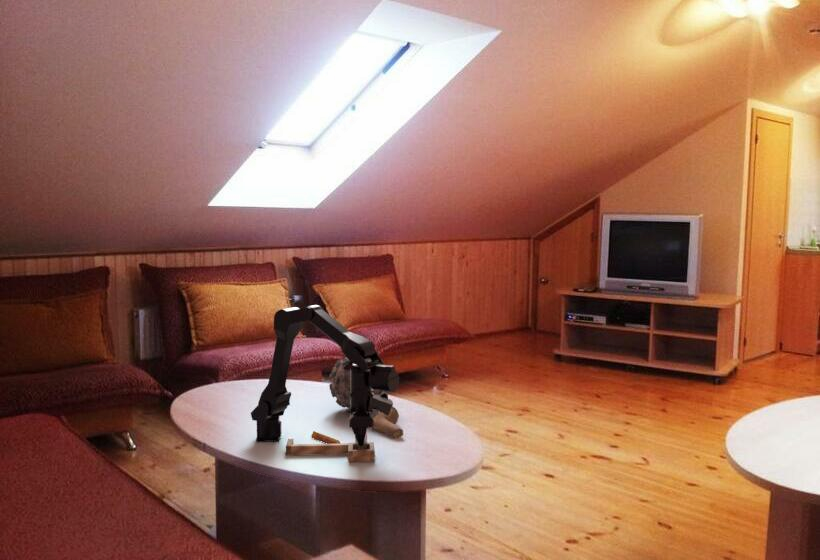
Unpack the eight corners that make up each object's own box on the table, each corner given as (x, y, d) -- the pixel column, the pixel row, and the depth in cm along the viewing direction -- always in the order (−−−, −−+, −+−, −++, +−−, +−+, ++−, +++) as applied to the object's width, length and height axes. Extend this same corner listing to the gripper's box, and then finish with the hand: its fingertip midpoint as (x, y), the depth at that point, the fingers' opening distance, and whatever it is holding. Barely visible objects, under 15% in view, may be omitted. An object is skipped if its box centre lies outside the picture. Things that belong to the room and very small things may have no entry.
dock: (283, 463, 188) (283, 452, 188) (288, 447, 201) (287, 437, 200) (374, 461, 190) (374, 450, 189) (373, 445, 203) (373, 435, 202)
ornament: (378, 400, 250) (378, 344, 249) (397, 416, 232) (398, 356, 230) (323, 406, 244) (323, 348, 242) (338, 422, 225) (338, 360, 223)
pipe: (392, 425, 207) (419, 414, 212) (361, 412, 220) (387, 401, 226) (394, 446, 208) (421, 434, 214) (364, 431, 221) (390, 420, 227)
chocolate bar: (335, 449, 201) (335, 441, 201) (309, 439, 209) (309, 431, 209) (342, 447, 203) (342, 439, 202) (317, 437, 211) (317, 430, 211)
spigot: (355, 454, 191) (355, 425, 190) (355, 450, 194) (355, 422, 193) (367, 454, 191) (367, 425, 191) (366, 450, 195) (367, 422, 194)
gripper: (393, 395, 182) (392, 454, 184) (389, 378, 201) (389, 432, 202) (349, 396, 182) (349, 455, 183) (349, 379, 200) (349, 433, 202)
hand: (361, 443), depth 193 cm, fingers closed on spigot, 3 cm apart
